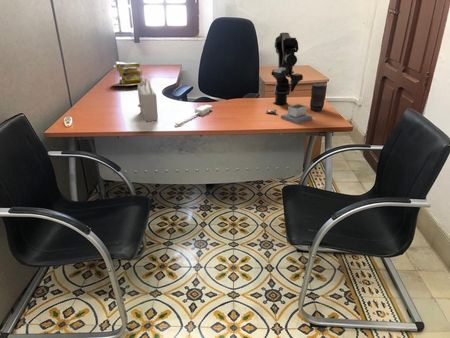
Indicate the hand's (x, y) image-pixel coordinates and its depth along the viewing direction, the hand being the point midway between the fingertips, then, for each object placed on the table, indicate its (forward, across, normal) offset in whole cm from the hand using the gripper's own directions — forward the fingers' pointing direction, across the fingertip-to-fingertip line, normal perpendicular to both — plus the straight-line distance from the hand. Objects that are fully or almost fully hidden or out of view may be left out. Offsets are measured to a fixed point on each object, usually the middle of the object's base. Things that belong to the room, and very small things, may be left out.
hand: (285, 90), depth 197 cm
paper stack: (+12, -107, -46) cm, 117 cm away
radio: (+12, -40, -67) cm, 79 cm away
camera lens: (+12, +11, +16) cm, 23 cm away
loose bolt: (+12, -1, -10) cm, 16 cm away
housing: (+10, +14, -5) cm, 18 cm away
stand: (+12, +14, -5) cm, 19 cm away
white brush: (+13, -23, -48) cm, 54 cm away
